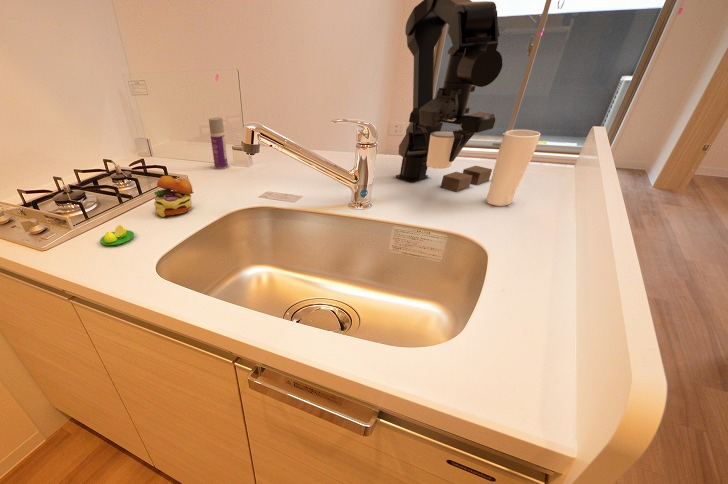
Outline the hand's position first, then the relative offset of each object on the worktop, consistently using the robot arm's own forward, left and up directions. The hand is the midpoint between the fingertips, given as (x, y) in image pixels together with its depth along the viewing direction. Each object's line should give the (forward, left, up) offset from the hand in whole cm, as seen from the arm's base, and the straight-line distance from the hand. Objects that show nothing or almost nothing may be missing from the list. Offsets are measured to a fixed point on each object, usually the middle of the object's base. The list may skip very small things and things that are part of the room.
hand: (440, 158), depth 89 cm
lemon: (-27, -76, -9) cm, 81 cm away
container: (-65, -30, -9) cm, 72 cm away
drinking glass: (+14, +7, -9) cm, 18 cm away
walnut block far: (0, +17, -9) cm, 19 cm away
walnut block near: (0, +9, -9) cm, 13 cm away
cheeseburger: (-36, -58, -9) cm, 69 cm away
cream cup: (0, 0, -2) cm, 2 cm away
